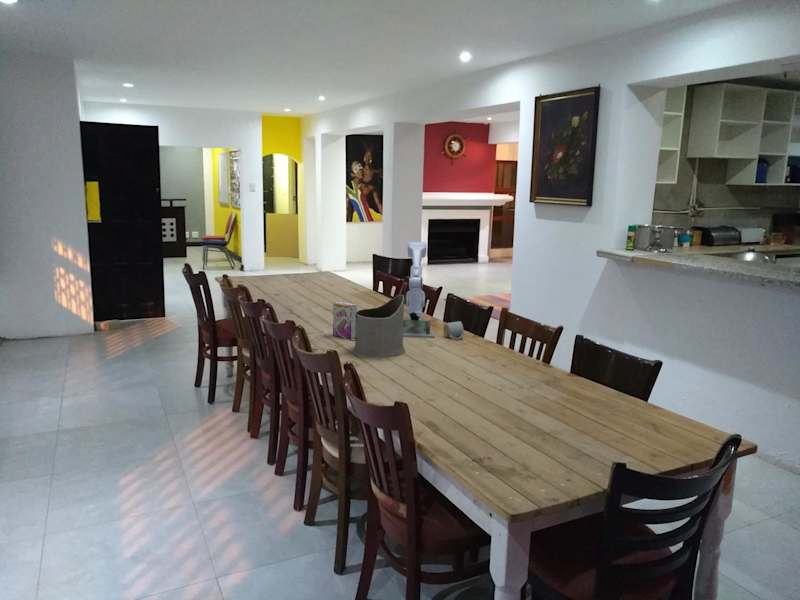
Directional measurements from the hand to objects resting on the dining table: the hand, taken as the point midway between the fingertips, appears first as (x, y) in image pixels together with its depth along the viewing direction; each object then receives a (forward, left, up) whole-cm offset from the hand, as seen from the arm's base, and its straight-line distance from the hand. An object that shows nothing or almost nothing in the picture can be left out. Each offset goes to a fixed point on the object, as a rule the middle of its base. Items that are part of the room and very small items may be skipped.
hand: (414, 327), depth 305 cm
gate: (+2, +1, -2) cm, 3 cm away
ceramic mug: (+6, +20, -4) cm, 21 cm away
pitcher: (+35, -20, -4) cm, 40 cm away
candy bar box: (+10, -34, -4) cm, 35 cm away
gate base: (+3, 0, -3) cm, 5 cm away
